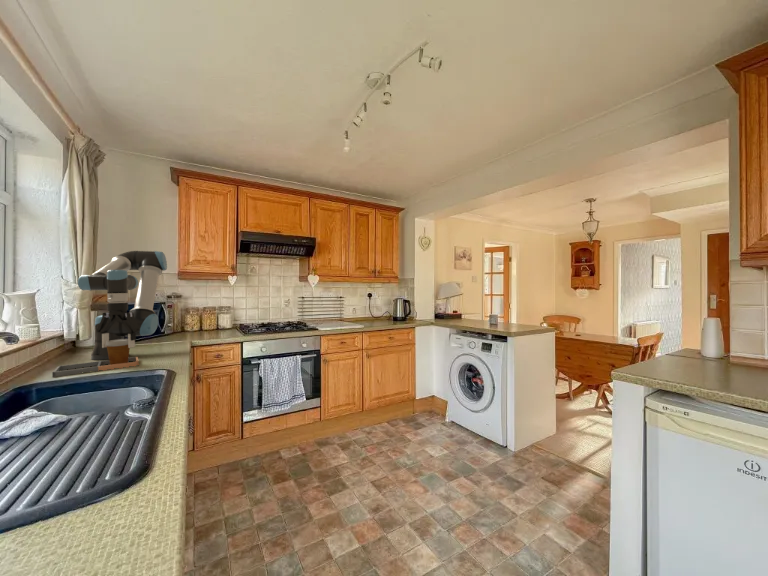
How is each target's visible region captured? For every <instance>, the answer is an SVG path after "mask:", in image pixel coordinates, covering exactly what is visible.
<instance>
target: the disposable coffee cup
mask: <svg viewBox="0 0 768 576" xmlns="http://www.w3.org/2000/svg"><path fill="white" fill-rule="evenodd" d="M105 345H106V346H107V351H108V356H109V359H108V360H109V362H110V364H109V365H113V364H121V363H129V362H128V358H130V357H129V356H130V349H131V348H128V338H124V339H117V340H110V341H107V342H106V344H105Z"/></svg>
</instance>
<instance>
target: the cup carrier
mask: <svg viewBox="0 0 768 576" xmlns="http://www.w3.org/2000/svg"><path fill="white" fill-rule="evenodd" d="M129 361H133V362H129ZM139 361H140V360H139V356H132V357H131V356H130V357H128V363H121V364H113V365H110V362H109V359H104V360H95V361H89V362H81V363H73V364H64V365H63V364H62V365H58V366H56V367H55V369H54V370H53V371H52V378H56V376H58V377H63V375H65V376H71V375H70V374H73V375H78V374H77V373H81V374H83V373H82V372H88V373H91V372H90V371H96V372H100V371H99V370H103V371H108V370H107V369H111V370H115V369H114V368H119V369H124V368H123V367H126V368H130V367H129V366H134V367H137V366H136V365H139V366H140V364H139ZM105 364H108V365H105ZM90 366H92V367H90ZM82 367H84V368H82ZM75 368H76V369H75ZM67 369H68V370H67Z"/></svg>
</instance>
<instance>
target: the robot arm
mask: <svg viewBox="0 0 768 576" xmlns="http://www.w3.org/2000/svg"><path fill="white" fill-rule="evenodd" d="M167 262H168V261H167V258H166V254H165V253H164V252H163V251H157V250H153V251H152V250H150V251H149V250H131V251H130V250H129V251H125V252H123V253H120V254H118V255H116V256H114V257H112V259H111V261H110V262H108V263H107V264H106V265H104V266H102V267H101V268H99V269H98V270H97V271H94V272H93V273H92V274H82V275H80V276H79V277H78V279H77V286H78V288H79V289H80V290H81V291H90V292H91V291H106V292H107V293H106V294H107V296H106V297H107V308H106V309H107V311H108V312H103V313H102V315H98V316H96V317H95V320H94V321H95V322H94V337H95V340H94V341H95V343H94V347H93V349H92V351H91V354H90V355H91V356H90V359H91V360H93V361H105V360H109V356H108V351H107V346H106V345H105V344H106V342H107V341H110V340H117V339H125V337H127V339H128V348H130V349H131V348H135V347H136V340H137V339H136V338H137V337H141V336H142V337H143V336H144V337H145V336H151V335H153V334H154V333H155V332H156V330H157V328H158V326H159V317H158V314H156V312H155V311H154V305H155V298H156V292H157V287H158V286H157V285H158V282H159V281H158V280H159V277H160V276H161V275H162V274H163V271H166V270H167V268H168V264H167ZM129 271H138V272H139V273H140V276H139V280H138V278H137V277H136V276H134V275H131V274H128V272H129ZM136 288H137V290H136V291H137V292H136V296H135V301H134V307H133V308H132V309H130V310H129V303H128V302H129V293H128V292H129V291H131V290H135V289H136ZM127 311H129V312H127Z"/></svg>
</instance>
